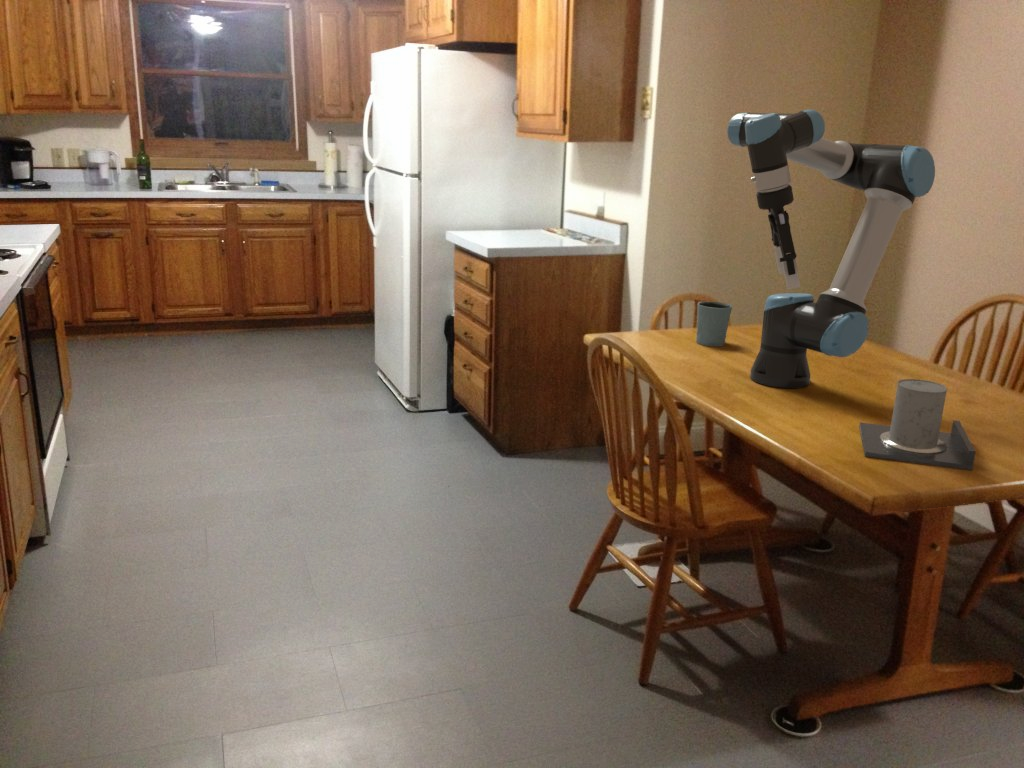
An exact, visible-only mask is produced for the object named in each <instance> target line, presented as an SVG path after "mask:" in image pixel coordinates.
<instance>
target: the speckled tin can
mask: <svg viewBox="0 0 1024 768" xmlns="http://www.w3.org/2000/svg"><path fill="white" fill-rule="evenodd" d="M896 383H897V386H896V391H895V396H894V397H895V398H894V405H893V410H892V411H893V412H892V415H891V423H890V426H891V428H890V434H889V440H890V441H892V442H893V443H895V444H898V445H901V446H904V447H908V448H914V449H932V448H935V447H937V445H938V444H937V442H938V437H939V432H941V431H940V429H941V425H942V419H943V413H944V409H945V403H946V402H945V401H946V396H947V391H948V387H946V386H945V385H944V384H941V383H940V382H939V383H938V382H935V381H931V380H925V379H918V378H917V379H915V378H905V379H899V380H898V381H897V382H896Z"/></svg>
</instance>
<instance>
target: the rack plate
mask: <svg viewBox="0 0 1024 768" xmlns="http://www.w3.org/2000/svg"><path fill="white" fill-rule="evenodd" d="M858 428H859V432H860V438H861V442H862V449H863V455H864V457H866V458H873V459H874V458H875V459H882V460H888V461H896V462H903V463H905V462H906V463H912V464H913V463H914V464H920V465H928V466H937V467H941V468H942V467H943V468H951V469H959V470H968V471H973V468H974V463H975V457H976V450H975V448H974V446H973V444H972V442H971V440H970V438H969V436H968V435H967V433H966V430H965V428H964V427H963V425H962V423H961V421H960V420H955V419H954V420H952V426H951V431H950V432H945V431H939V437H938V442H937V444H938V445H937V447H935V448H932V449H914V448H908V447H904V446H901V445H898V444H895V443H893V442H892V441H890V440H889V434H890V428H891V425H888V424H887V425H886V424H880V423H879V424H878V423H870V422H862V421H861V422H859V426H858Z"/></svg>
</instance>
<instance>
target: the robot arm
mask: <svg viewBox="0 0 1024 768" xmlns="http://www.w3.org/2000/svg"><path fill="white" fill-rule="evenodd" d="M825 130H826V126H825V120H824V118H823V116H822V114H821V113H820V112H819V111H817V110H815V109H805V110H800V111H798V112H796V113H781V112H780V113H778V112H777V113H776V112H772V113H769V112H767V113H766V112H764V113H763V112H750V111H747V112H739V113H737V114H734V115H733V116H732V117H731V119H730V120H729V123H728V125H727V130H726V131H727V133H726V134H727V137H728V141H730V143H731V144H732V145H734V146H737V147H738V146H739V147H741V148H744V147H747V151H748V155H749V156H748V157H749V162H750V167H751V171H752V175H753V176H752V177H750V181H751V182H754V188H755V190H756V191H757V192H756V200H757V206H758V209H760V210H763V211H764V210H768V214H767V218H768V219H767V220H768V222H769V226H770V230H771V231H770V233H771V241H772V242H773V246H774V253H775V260H776V264H777V270H778V274H779V275H780V276H781V275H784V278H785V285H786V290H793V289H797V288H801V281H800V278H799V277H800V276H799V272H798V265H797V264H798V263H797V253H796V250H795V245H794V241H793V236H792V232H791V224H790V221H789V220H790V217H789V213H788V212H787V210H785V209H784V207H785V206H788V205H790V204H792V203H794V202H793V201H794V192H793V187H792V186H791V184H790V183H791V181H792V180H791V174H790V167H789V163H788V161H791V162H793V163H797V164H799V165H802V166H805V167H808V168H811V169H814V170H816V171H819V172H821V174H822V175H823V176H824V177H825V178H827V179H829V180H832V181H835V182H837V183H840V184H842V185H845V186H847V187H850V188H853V189H856V190H858V191H864V192H863V194H864V196H865V198H866V200H867V201H866V202H865V204H864V205H865V206H864V208H863V209H862V212H861V215H860V217H859V219H858V222H857V223H856V226H855V229H854V230H853V232H852V235H851V238H850V239H849V243H848V245H847V247H846V248H845V249H846V250H845V252H844V254H843V257H842V259H841V261H840V263H839V265H838V268H837V271H836V273H835V275H834V277H833V279H832V281H831V284H830V287H829V289H827V290H825V291H823V292H822V291H821V293H819V296H818V298H817V301H816V302H814V301H815V298H814V294H811V293H799V292H797V293H796V292H795V293H792V292H790V293H785V292H784V293H775V294H772V295H769V296H768V297H767V298H766V301H765V305H764V309H763V317H762V328H761V330H762V331H761V338H760V340H761V341H760V348H759V352H758V353H757V355H756V357H755V360H754V362H753V364H752V366H751V368H750V374H749V375H750V376H749V378H750V379H751V380H752V381H754V382H755V383H758V384H761V385H764V386H769V387H773V388H774V387H775V388H782V389H783V388H784V389H797V388H798V389H800V388H805V387H807V386H809V385H810V383H811V372H810V366H809V362H808V356H807V351H808V350H811V351H814V352H818V353H821V354H824V355H825V356H829V357H832V356H833V357H837V358H846V357H850V356H851V355H853V354H855V353H856V352H857V351H858V350H860V348H861V347H862V346H863V345H864V343H865V341H866V340H867V337H868V334H869V330H870V328H868V327H869V326H870V322H869V319H868V317H867V316H866V313H867V311H868V309H867V306H866V305H865V302H864V301H865V299H866V297H867V294H868V292H869V289H870V287H871V285H872V283H873V280H874V278H875V276H876V275H877V271H878V268H879V267H880V264H881V262H882V260H883V257H884V256H885V253H886V251H887V249H888V246H889V243H890V241H891V239H892V236H893V234H894V231H895V229H896V227H897V224H899V223H898V222H899V220H900V218H901V216H902V213H903V212H904V211H907V210H909V209H911V208H912V207H913V204H914V201H915V199H916V198H921V197H924V196H926V194H928V193H929V192H930V191H931V189H932V187H933V185H934V182H935V176H936V175H935V174H936V166H935V160H934V157H933V155H932V154H931V152H930V151H929V150H928V149H927V148H925V147H923V146H915V145H912V144H907V145H902V144H901V145H900V144H881V143H880V144H878V143H855V142H854V143H853V142H847V141H846V140H836V141H833V140H830V139H827V138H825V137H823V136H824V134H825ZM807 349H808V350H807Z"/></svg>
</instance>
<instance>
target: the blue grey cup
mask: <svg viewBox="0 0 1024 768" xmlns="http://www.w3.org/2000/svg"><path fill="white" fill-rule="evenodd" d="M732 309H733V307H732V305H731V304H729V303H725V302H720V301H719V302H718V301H708V300H707V301H699V302H698V303H697V318H696V320H697V321H696V325H697V326H696V328H697V329H696V339H695V340H696V343H697V344H698V345H701V346H706V347H722V346H724V345H725V344H726V338H727V332H728V328H729V322H730V319H731V318H730V317H731V314H732Z"/></svg>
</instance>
